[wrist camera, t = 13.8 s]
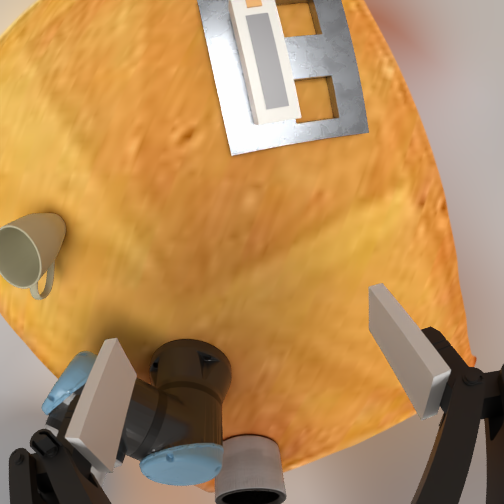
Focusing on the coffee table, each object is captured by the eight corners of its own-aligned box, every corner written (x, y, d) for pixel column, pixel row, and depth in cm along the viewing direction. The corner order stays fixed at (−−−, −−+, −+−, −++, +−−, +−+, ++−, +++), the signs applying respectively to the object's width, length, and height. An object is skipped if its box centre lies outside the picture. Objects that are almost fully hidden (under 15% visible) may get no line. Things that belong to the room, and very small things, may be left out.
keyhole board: (231, 153, 43) (231, 155, 40) (198, 2, 33) (196, -4, 31) (361, 131, 42) (368, 132, 40) (330, -13, 33) (335, -18, 31)
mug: (22, 232, 44) (-18, 261, 33) (49, 188, 42) (5, 211, 31) (65, 275, 48) (33, 313, 37) (96, 235, 45) (63, 270, 34)
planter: (287, 434, 67) (297, 488, 53) (268, 464, 73) (274, 512, 59) (220, 429, 65) (221, 486, 51) (209, 460, 71) (209, 510, 56)
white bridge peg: (252, 124, 41) (259, 125, 32) (228, 18, 35) (228, -10, 25) (285, 118, 41) (302, 117, 32) (261, 12, 35) (271, -15, 25)
